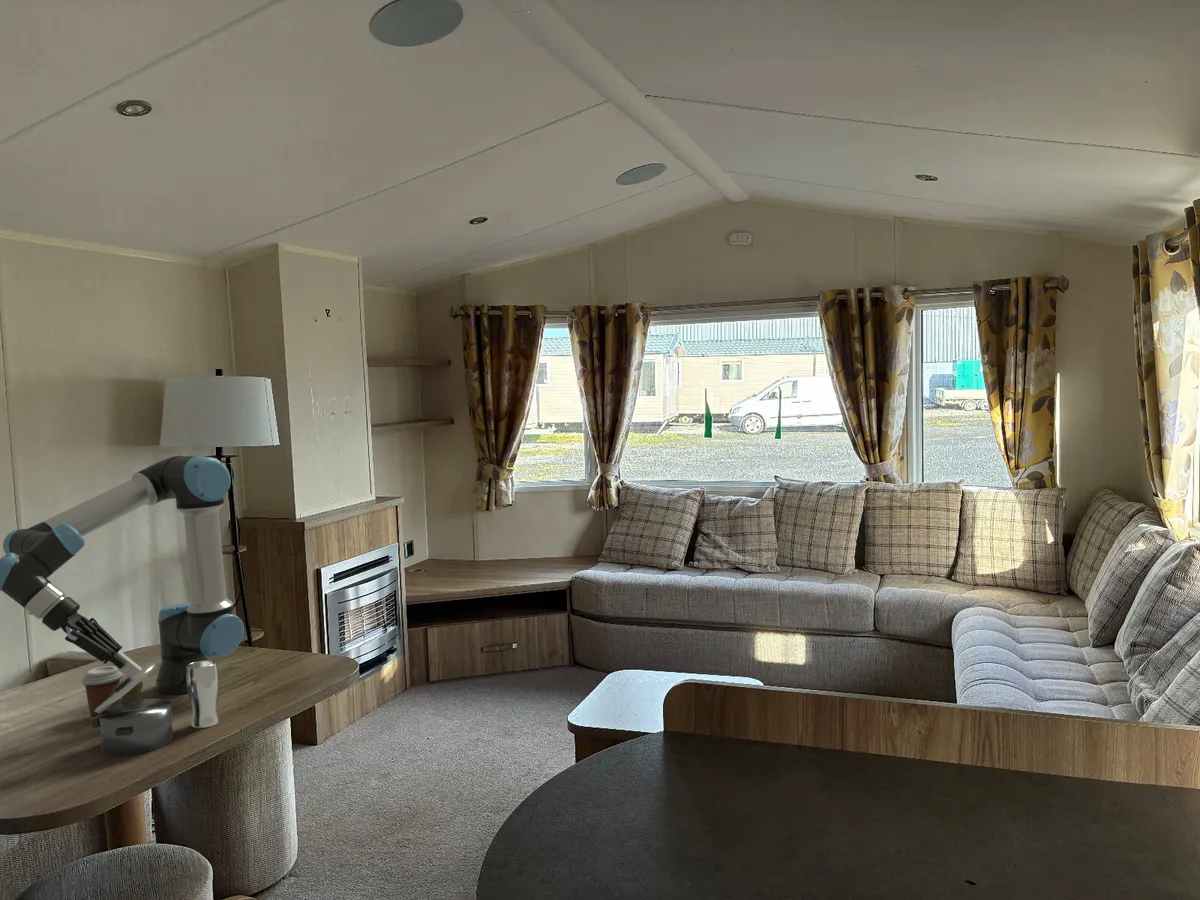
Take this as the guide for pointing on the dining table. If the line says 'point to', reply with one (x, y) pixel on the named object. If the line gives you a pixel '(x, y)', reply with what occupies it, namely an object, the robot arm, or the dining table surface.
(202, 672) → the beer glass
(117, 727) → the cooker pot
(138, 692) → the cork
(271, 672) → the dining table surface
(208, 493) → the robot arm
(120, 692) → the lid
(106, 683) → the coffee cup
